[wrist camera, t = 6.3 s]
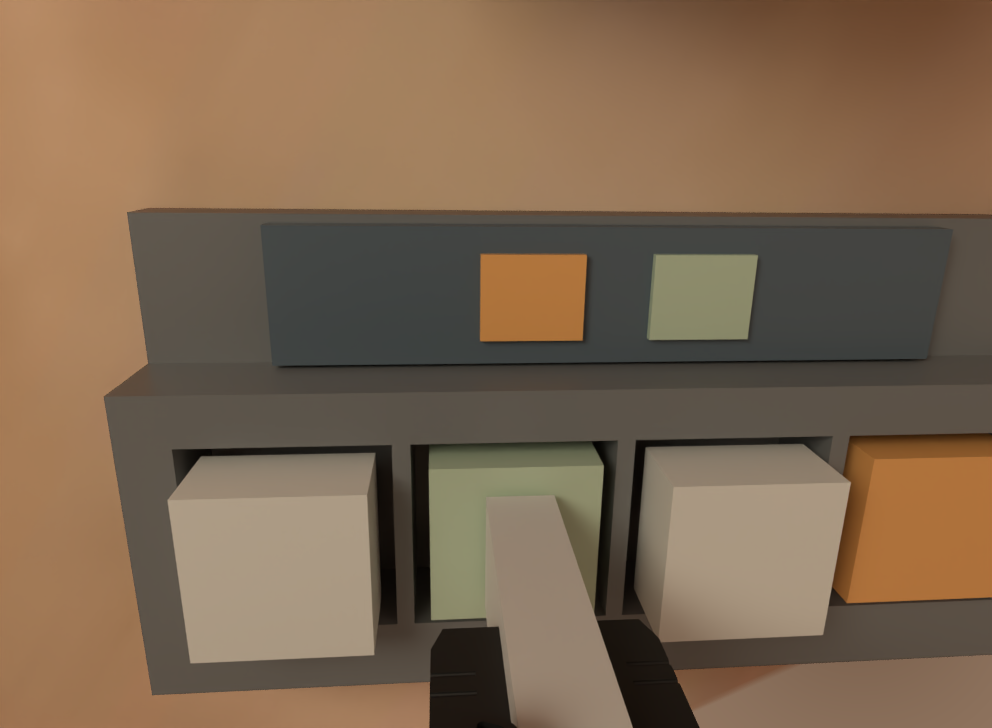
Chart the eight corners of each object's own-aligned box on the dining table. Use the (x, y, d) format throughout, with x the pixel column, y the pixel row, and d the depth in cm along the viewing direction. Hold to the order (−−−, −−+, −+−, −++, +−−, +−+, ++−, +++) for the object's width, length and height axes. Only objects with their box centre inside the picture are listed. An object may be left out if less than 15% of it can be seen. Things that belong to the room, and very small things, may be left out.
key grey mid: (633, 587, 17) (658, 641, 15) (645, 447, 16) (673, 486, 14) (780, 581, 17) (823, 635, 16) (802, 443, 16) (851, 482, 14)
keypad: (200, 602, 20) (152, 695, 16) (148, 207, 16) (75, 223, 13) (929, 575, 22) (1020, 653, 18) (1013, 214, 18) (1141, 229, 15)
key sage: (431, 569, 18) (431, 619, 16) (429, 432, 17) (429, 469, 15) (577, 564, 18) (594, 613, 16) (584, 430, 17) (603, 465, 15)
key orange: (804, 556, 19) (847, 603, 17) (827, 425, 17) (874, 459, 16) (938, 552, 19) (994, 596, 17) (968, 423, 18) (1032, 455, 16)
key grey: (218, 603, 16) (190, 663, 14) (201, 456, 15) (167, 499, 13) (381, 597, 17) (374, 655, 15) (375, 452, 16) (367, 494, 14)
